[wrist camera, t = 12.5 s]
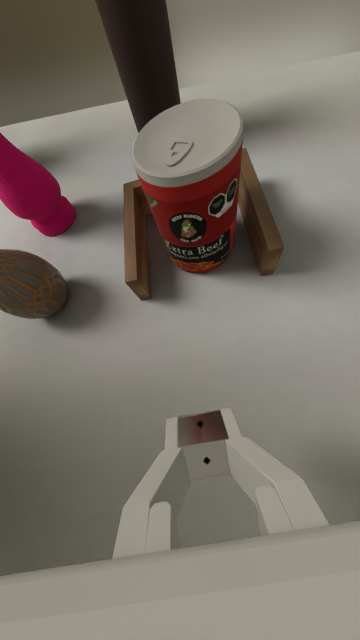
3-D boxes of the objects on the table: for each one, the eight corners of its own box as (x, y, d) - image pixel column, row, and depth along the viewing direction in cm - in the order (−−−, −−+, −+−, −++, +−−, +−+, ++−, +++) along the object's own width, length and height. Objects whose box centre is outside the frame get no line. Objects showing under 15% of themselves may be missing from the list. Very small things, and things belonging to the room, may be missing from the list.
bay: (141, 300, 22) (125, 282, 19) (136, 211, 27) (123, 184, 24) (272, 273, 20) (284, 247, 16) (242, 183, 25) (245, 147, 21)
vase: (51, 270, 27) (-23, 218, 19) (87, 285, 25) (21, 234, 17) (19, 313, 25) (-76, 277, 17) (55, 334, 23) (-34, 304, 15)
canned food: (164, 275, 23) (118, 183, 13) (174, 221, 25) (142, 108, 15) (232, 275, 21) (241, 169, 11) (235, 218, 24) (246, 87, 13)
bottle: (192, 146, 30) (142, -257, 11) (151, 166, 30) (38, -193, 12) (177, 125, 32) (117, -231, 14) (139, 143, 33) (32, -179, 14)
